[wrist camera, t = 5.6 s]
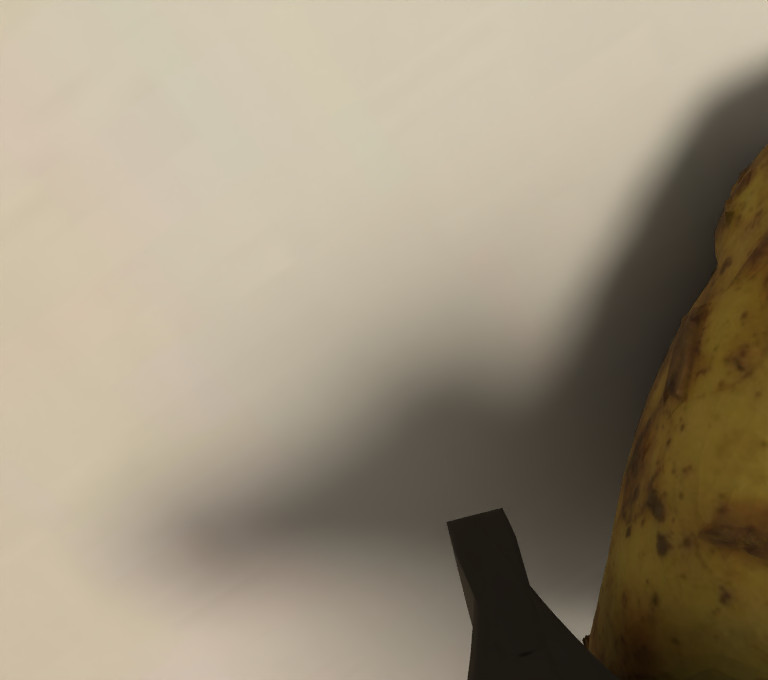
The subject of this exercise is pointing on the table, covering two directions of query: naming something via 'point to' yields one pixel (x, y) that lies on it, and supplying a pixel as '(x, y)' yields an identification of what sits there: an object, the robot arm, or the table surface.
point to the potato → (700, 481)
